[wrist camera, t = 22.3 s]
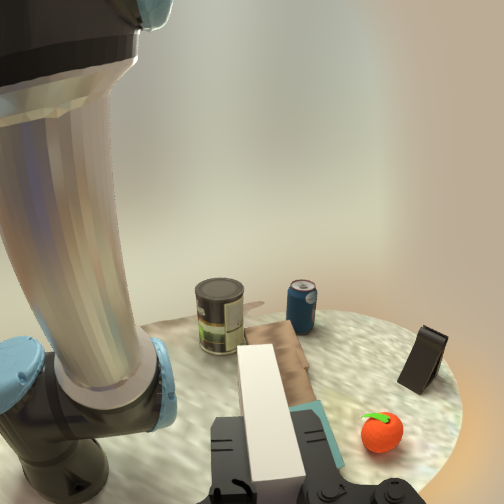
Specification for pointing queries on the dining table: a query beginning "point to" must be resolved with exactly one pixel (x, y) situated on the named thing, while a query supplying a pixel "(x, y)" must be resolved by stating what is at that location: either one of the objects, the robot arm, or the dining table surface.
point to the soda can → (301, 305)
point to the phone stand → (423, 360)
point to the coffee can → (220, 315)
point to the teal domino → (319, 411)
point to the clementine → (381, 432)
